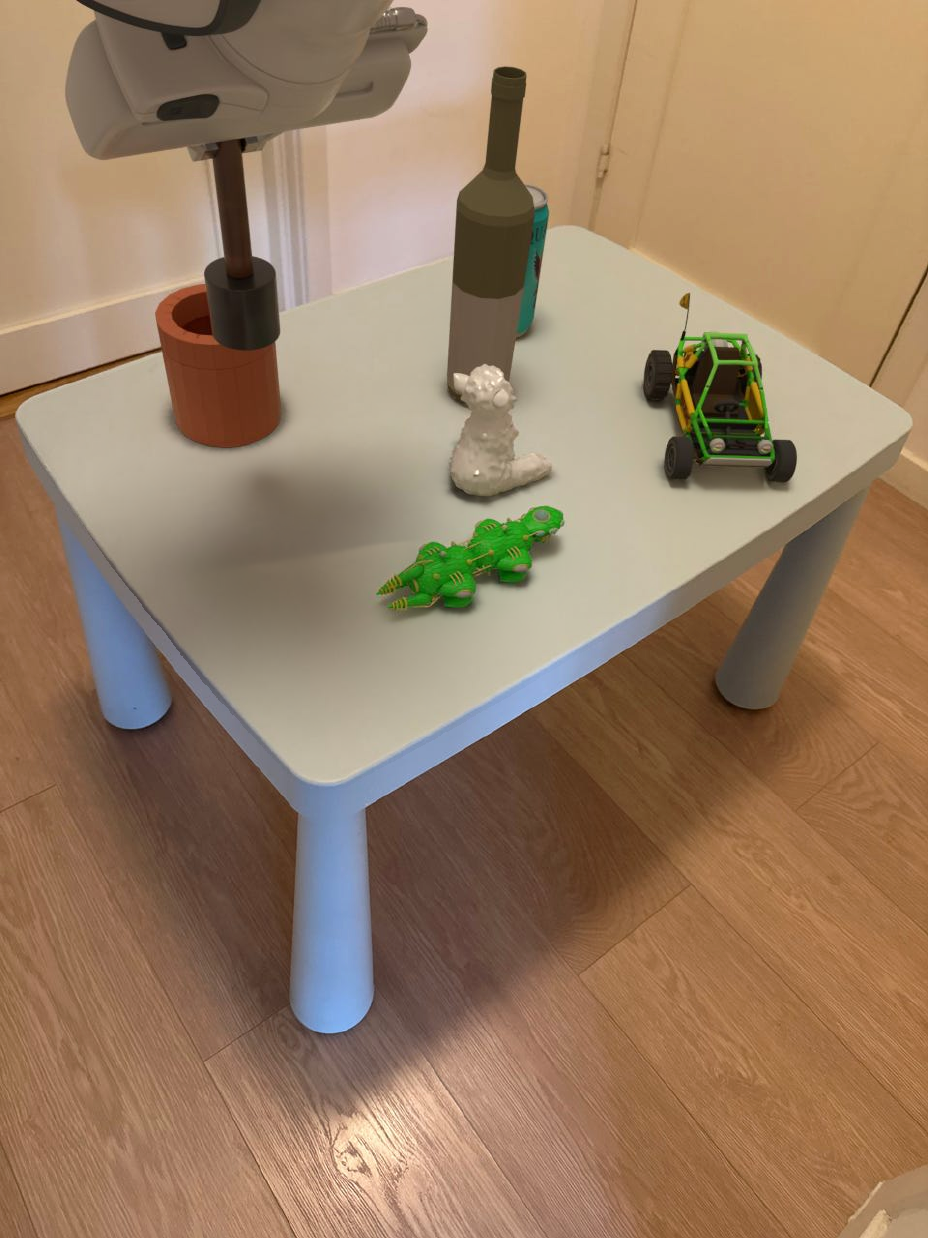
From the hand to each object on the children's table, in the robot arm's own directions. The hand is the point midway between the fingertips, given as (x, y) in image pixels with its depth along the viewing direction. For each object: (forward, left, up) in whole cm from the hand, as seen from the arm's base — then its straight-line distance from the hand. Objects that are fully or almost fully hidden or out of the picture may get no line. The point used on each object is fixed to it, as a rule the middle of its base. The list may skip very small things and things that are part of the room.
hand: (222, 144), depth 62 cm
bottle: (+23, +9, -29) cm, 39 cm away
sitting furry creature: (+20, -4, -29) cm, 36 cm away
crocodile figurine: (+15, -16, -29) cm, 37 cm away
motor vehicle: (+45, -2, -29) cm, 54 cm away
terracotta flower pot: (-2, +10, -29) cm, 31 cm away
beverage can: (+30, +20, -29) cm, 47 cm away
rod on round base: (0, -1, -14) cm, 14 cm away
